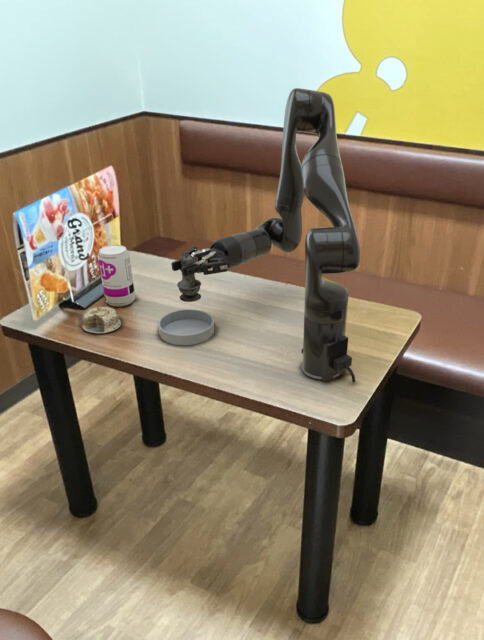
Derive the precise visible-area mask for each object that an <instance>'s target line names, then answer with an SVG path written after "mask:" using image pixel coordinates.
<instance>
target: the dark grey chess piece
mask: <svg viewBox="0 0 484 640" xmlns="http://www.w3.org/2000/svg"><path fill="white" fill-rule="evenodd" d="M185 251H186V252H185ZM185 251H184V252H185V255H183V256H182V255H181V257H180V259H181V266H182V267H184V266H187V265H190V264H193V257H192V256H191V255H189V254H187V253H188V252H187V250H185ZM179 271H180V272H181V273H182V268H181V269H180V270H179ZM195 274H196V273H194V274H191V275H188V276H183V275H182V274H181V280H180V281H178V282H177V284H176V286H177V288H178V290H179V292H180V293H181V294H180V296H179V300H180V301H182V302H185V303H193V302H194V303H195V302H197V301H199V300H201V298H202V295H201V294H200V293H199V292H200V290H201V286H202V282H201V280H199V279H196V275H195Z"/></svg>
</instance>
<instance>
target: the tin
mask: <svg viewBox="0 0 484 640" xmlns="http://www.w3.org/2000/svg"><path fill="white" fill-rule="evenodd" d="M157 324H158V325H157V327H158V334H159V337H160V339H161V340H163V341H164V342H165V343H168V344H171V345H173V346H193V345H197V344H201V343H203V342H206V341H208V340H210V339H211V338H212V337H213V335H214V334H215V320H214V317H213V316H212V315H211V314H210V313H208V312H206V311H203V310H200V309H195V308H194V309H192V308H188V309H187V308H185V309H178V310H173V311H170V312H168V313H166V314H164V315H163V316H162V317H161V318H160V319H159V320H158V323H157Z"/></svg>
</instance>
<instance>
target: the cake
mask: <svg viewBox="0 0 484 640" xmlns="http://www.w3.org/2000/svg"><path fill="white" fill-rule="evenodd" d="M121 326H122V322H121V319H120V318H119V314H118V312H117V311H116V309H114V308H113V307H109V306H98V307H97V306H95V307H92V308H88V309H86V310H85V312H83V314H82V317H81V328H82V329H83V330H84V331H86V332H88V333H92V334H106V333H111V332H113V331H116V330H118V329H119V328H120V327H121Z"/></svg>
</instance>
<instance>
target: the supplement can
mask: <svg viewBox="0 0 484 640" xmlns="http://www.w3.org/2000/svg"><path fill="white" fill-rule="evenodd" d="M97 261H98V266H99V272H100V279H101V282H102V290H103V296H104V301H105V303H106V304H107V305H108V306H111V307H116V308H117V307H118V308H120V307H126V306H128V305H131V304H132V303H133V302H134V301H135V300H136V293H135V292H136V291H135V286H134V285H135V284H134V278H133V271H132V264H131V256H130V252H129V250H128V249H127V247H126V246H125V245H123V244H107V245H104V246H102V247H100V248H99V250H98V253H97Z"/></svg>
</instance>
